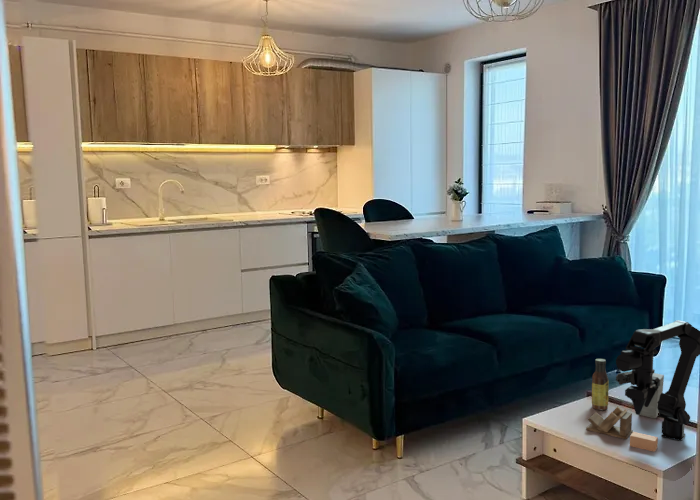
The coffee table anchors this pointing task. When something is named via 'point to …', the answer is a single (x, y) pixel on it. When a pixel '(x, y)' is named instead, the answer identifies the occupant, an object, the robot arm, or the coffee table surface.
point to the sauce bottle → (600, 386)
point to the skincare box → (654, 400)
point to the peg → (643, 441)
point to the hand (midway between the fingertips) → (642, 410)
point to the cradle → (612, 424)
